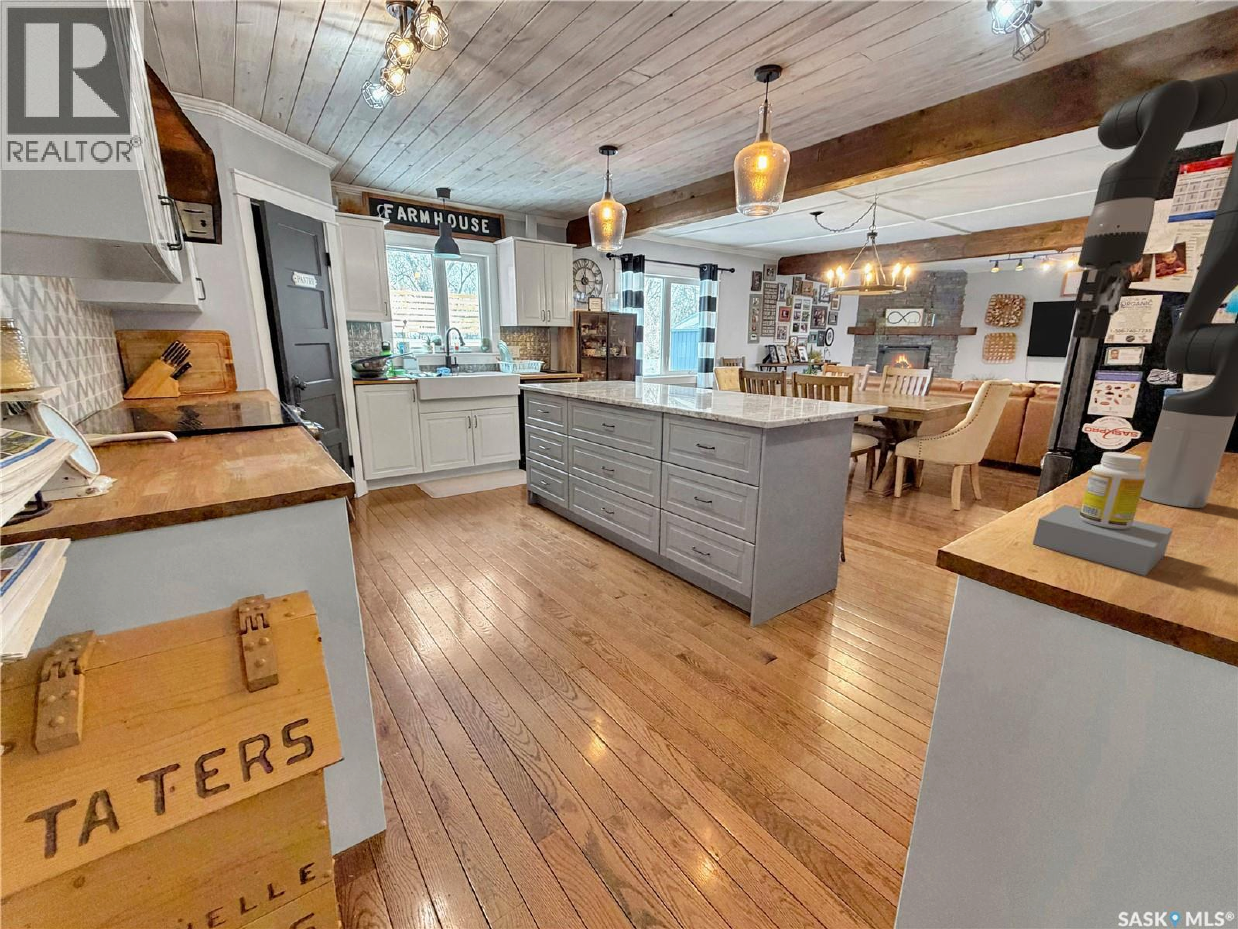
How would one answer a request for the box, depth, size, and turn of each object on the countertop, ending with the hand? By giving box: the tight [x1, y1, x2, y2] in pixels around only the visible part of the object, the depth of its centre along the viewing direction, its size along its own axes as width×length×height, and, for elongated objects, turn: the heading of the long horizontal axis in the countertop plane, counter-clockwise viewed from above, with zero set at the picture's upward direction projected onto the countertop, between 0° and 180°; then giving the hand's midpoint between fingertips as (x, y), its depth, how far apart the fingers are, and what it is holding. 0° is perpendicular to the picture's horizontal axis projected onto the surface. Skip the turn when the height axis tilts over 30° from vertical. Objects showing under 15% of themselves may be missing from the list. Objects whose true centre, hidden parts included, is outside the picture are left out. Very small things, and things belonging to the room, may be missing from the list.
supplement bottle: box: [1080, 451, 1146, 529], centre depth 71 cm, size 6×6×10 cm
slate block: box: [1032, 504, 1174, 577], centre depth 73 cm, size 12×12×4 cm
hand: (1089, 338), depth 84 cm, fingers open, 8 cm apart
